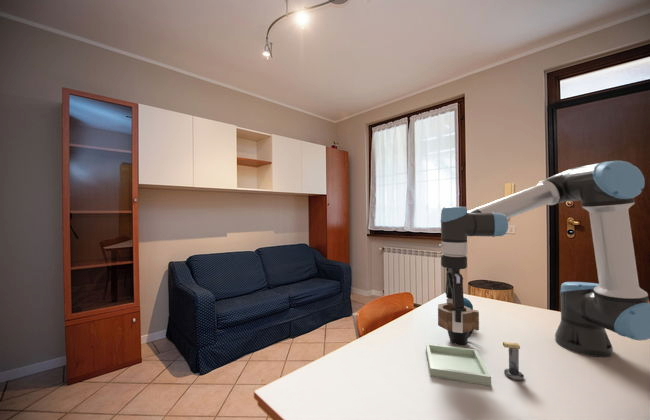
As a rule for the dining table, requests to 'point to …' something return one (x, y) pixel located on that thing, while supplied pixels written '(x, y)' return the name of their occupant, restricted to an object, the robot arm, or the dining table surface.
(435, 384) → the dining table surface
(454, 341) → the mug
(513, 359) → the door handle
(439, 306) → the ring
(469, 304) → the light bulb
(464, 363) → the tray
